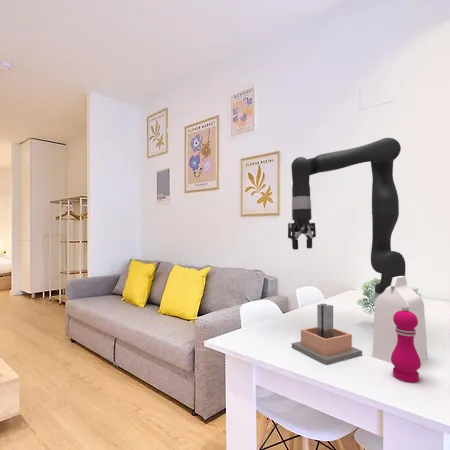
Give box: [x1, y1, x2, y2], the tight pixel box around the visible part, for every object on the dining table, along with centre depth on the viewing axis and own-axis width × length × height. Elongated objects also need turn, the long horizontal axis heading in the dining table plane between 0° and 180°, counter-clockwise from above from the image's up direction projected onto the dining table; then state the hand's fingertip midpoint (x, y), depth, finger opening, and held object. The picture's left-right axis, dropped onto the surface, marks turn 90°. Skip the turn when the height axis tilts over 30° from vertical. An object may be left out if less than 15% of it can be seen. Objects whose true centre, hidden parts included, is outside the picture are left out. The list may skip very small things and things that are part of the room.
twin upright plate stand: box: [316, 303, 334, 339], centre depth 107 cm, size 4×6×14 cm
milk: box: [372, 275, 429, 364], centre depth 102 cm, size 12×12×26 cm
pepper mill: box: [391, 305, 422, 383], centre depth 89 cm, size 7×7×20 cm
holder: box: [291, 326, 363, 366], centre depth 107 cm, size 16×16×6 cm
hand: (302, 248), depth 126 cm, fingers open, 8 cm apart
